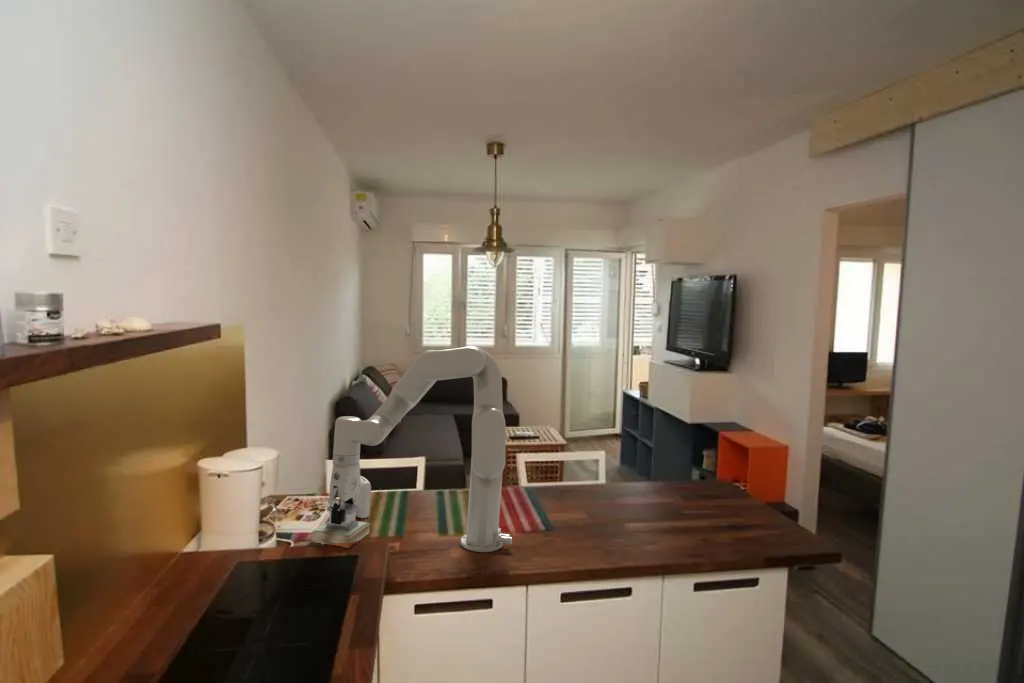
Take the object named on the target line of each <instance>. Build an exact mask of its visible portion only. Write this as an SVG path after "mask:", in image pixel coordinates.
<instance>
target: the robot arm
mask: <svg viewBox="0 0 1024 683" xmlns="http://www.w3.org/2000/svg"><path fill="white" fill-rule="evenodd" d="M471 377H472V379H473V413H472V418H471V459H470V460H471V462H470V463H471V465H470V478H469V479H470V480H469V481H470V482H469V491H468V492H469V493H468V503H467V504H468V505H467V519H466V532H465V533H466V534H464V535H462V536H461V538H460V545H461V546H462V548H464V549H466V550H468V551H471V552H478V553H491V552H496V551H498V550H499V549H501V548H502V547H503V544H509V545H512V543H513V537H512V536H511V535H510V534H508V533H507V534H506V533H503V532H502V528H501V527H500V526H499V525H500V514H501V501H502V500H501V499H502V497H501V496H502V488H503V486H502V485H503V472H504V469H505V466H506V450H507V449H506V443H507V442H506V441H507V440H506V439H507V437H506V435H507V432H506V430H507V428H506V419H505V415H504V410H503V409H504V407H503V405H504V404H503V379H502V372H501V370H500V366H499V365H498V363H497V361H496V359H495V358H494V357H493V356H492V354H490V353H489V352H488V351H486V350H485V349H484V348H483V349H482V348H481V347H479V346H478V345H469V344H468V345H466V346H464V347H456V348H449V349H440V350H435V349H428V350H425V351H423V352H421V353H420V354H419V355H417V357H416V359H415V362H414V363H413V364H411V366H410V367H409V368H408V369H407V370H406V371H405V373H404V374H403V375H402V376H401V377H400V379H399V380H398V381H397V382H396V383H395V384H394V386H392V387H393V388H392V389H391V391H390V392H389V395H388V396H387V398H386V399H385V401H384V402H382V404H381V405H380V406H379V407H378V409H377V410H376V411H375V412H374V413H373V414H372V415H371V416H370V417H369V418H368V419H365V420H362V419H361V418H360V417H357V416H349V415H346V416H339V417H338V418H336V420H335V422H334V435H333V449H332V465H333V466H332V471H331V475H330V483H329V498H328V501H327V504H328V506H330V507H331V510H332V511H331V523H333V524H339V525H340V524H342V512H343V510H341V509H342V504H343V503H348V504H354V502H355V496H356V495H357V494H358V493H359V492H360V476H361V465H360V459H361V458H360V457H361V456H360V455H361V445H365V446H373V447H374V446H377V445H379V444H381V443H382V442H384V440H385V439H386V437H387V436H388V435H389V434H390V433H391V432H392V431H393V429H394V428H395V427H396V426H397V425H398V423H399V422H400V421H401V420H402V419H403V418H404V417H405V416H406V414H407V413H408V412H409V411H410V410H411V409H412V410H413V408H414V407H416V406H417V404H418V403H419V402H420V401H421V400H422V398H423V397H424V396H425V395H426V394H427V393H428V391H430V389H431V388H432V387H433V386H434V385H435V383H436V382H437V381H444V380H445V381H446V380H453V379H462V378H471ZM336 502H339V506H338V504H337V503H336Z"/></svg>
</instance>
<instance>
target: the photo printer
mask: <svg viewBox="0 0 1024 683" xmlns="http://www.w3.org/2000/svg"><path fill="white" fill-rule="evenodd" d="M371 495H372V485H371V482H370V481H369V480H368V479H367V478H366V477H364V476H362V475H360V492H359V493H358V494H357V495H356V496H355V502H354V505H359V510H357V511H356V517H357V518H360V519H366V518H368V517H369V516H370V514H371V513H370V511H371Z"/></svg>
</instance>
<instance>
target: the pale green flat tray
mask: <svg viewBox="0 0 1024 683" xmlns="http://www.w3.org/2000/svg"><path fill="white" fill-rule="evenodd" d="M357 521H358V526H356V527H355V528H353V529H352V530H351V531H345V530H339V529H333V528H327V527H326V523H327V522H329V520H328V521H327V522H325V523H324V524H322V525H320V526H319V527H317V528H315V529H314V530H313V531H312V530H311V533H310V534H311V536H310V543H311V544H312V543H314V544H318V543H321V544H320V545H324V544H332V543H334V544H335V543H336V544H337V543H338V544H339V543H352V542H355V541H359V540H360V541H362V539H364V538H365V537H366V536H368V535H369V534H370V528H371V527H370V526H371V525H370V524H371V523H369V522H366V521H365V522H364V521H359V520H357ZM360 541H359V542H360Z"/></svg>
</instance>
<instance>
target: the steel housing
mask: <svg viewBox="0 0 1024 683" xmlns="http://www.w3.org/2000/svg"><path fill="white" fill-rule="evenodd" d="M336 503H337V504H338V506H339V502H338V501H336ZM341 510H343V512H342V524H340V525H339V524H333V523H331V511H332V510H331V507H330V505H328V506H327V507H326V512H329V520H328V521H329V522H328V521H326V522H325V523H326V527H327V528H333V529H339V530H345V531H351V530H352V529H353V528H355V527H356V526H358V521H359V520H356V517H357V516H356V511H357V510H359V505H354V504H348V503H344V502H343V504H342V509H341Z"/></svg>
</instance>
